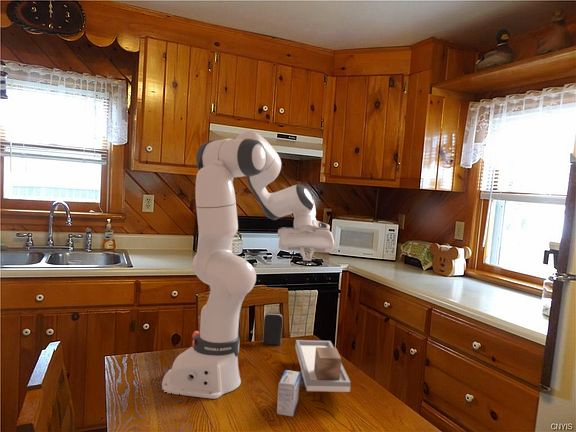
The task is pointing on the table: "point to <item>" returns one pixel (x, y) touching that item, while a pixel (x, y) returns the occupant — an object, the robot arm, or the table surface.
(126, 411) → the table surface
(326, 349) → the walnut block
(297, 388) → the medicine box
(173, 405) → the table surface
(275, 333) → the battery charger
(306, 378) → the white flat rectangular tray
